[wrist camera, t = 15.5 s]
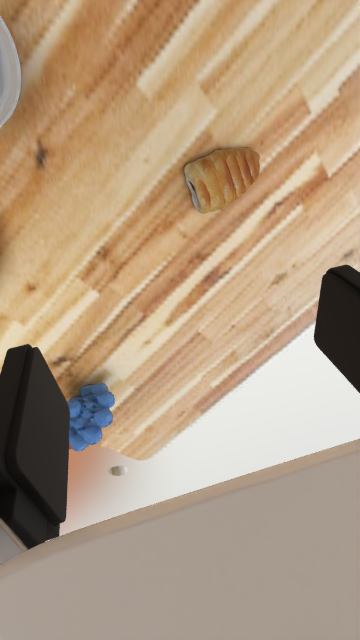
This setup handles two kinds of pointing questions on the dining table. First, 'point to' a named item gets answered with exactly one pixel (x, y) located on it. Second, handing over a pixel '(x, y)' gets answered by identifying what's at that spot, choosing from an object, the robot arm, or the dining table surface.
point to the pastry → (221, 177)
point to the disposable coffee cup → (8, 74)
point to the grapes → (89, 415)
